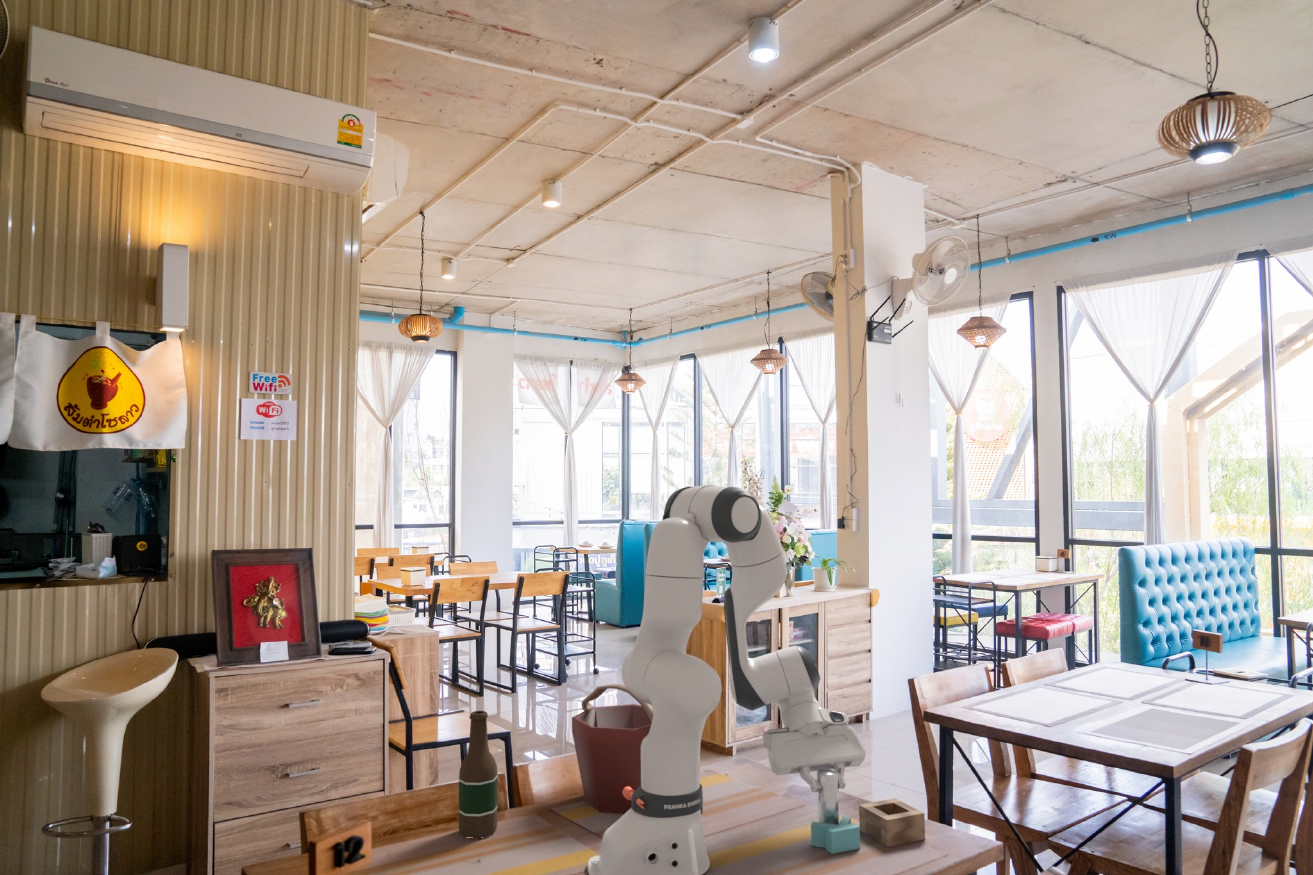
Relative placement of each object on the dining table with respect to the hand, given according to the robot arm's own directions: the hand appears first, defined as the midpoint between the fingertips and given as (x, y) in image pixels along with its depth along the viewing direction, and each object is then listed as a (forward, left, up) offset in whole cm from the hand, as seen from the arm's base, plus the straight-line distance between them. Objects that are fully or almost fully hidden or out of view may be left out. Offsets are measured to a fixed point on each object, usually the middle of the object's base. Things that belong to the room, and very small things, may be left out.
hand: (829, 789), depth 165 cm
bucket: (-29, +38, -10) cm, 49 cm away
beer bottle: (-63, +33, -10) cm, 72 cm away
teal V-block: (0, -2, -10) cm, 10 cm away
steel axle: (0, +1, -8) cm, 8 cm away
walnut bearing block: (+13, -2, -10) cm, 16 cm away
